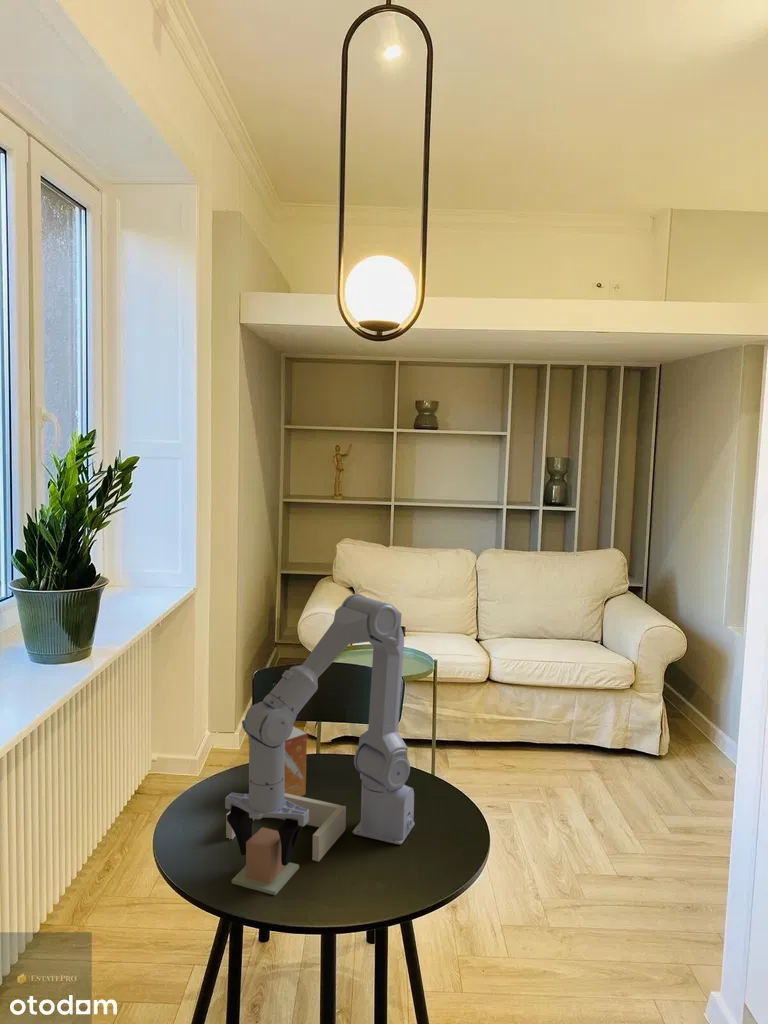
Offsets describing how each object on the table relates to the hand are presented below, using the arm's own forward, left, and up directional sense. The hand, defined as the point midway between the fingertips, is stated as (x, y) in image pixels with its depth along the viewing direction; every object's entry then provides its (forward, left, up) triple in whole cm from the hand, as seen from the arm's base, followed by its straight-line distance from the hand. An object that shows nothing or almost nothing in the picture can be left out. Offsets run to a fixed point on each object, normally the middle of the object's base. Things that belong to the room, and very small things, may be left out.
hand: (266, 857), depth 119 cm
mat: (0, 0, -3) cm, 3 cm away
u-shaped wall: (+3, -12, -3) cm, 13 cm away
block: (0, 0, -3) cm, 3 cm away
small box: (+11, -25, -3) cm, 28 cm away
